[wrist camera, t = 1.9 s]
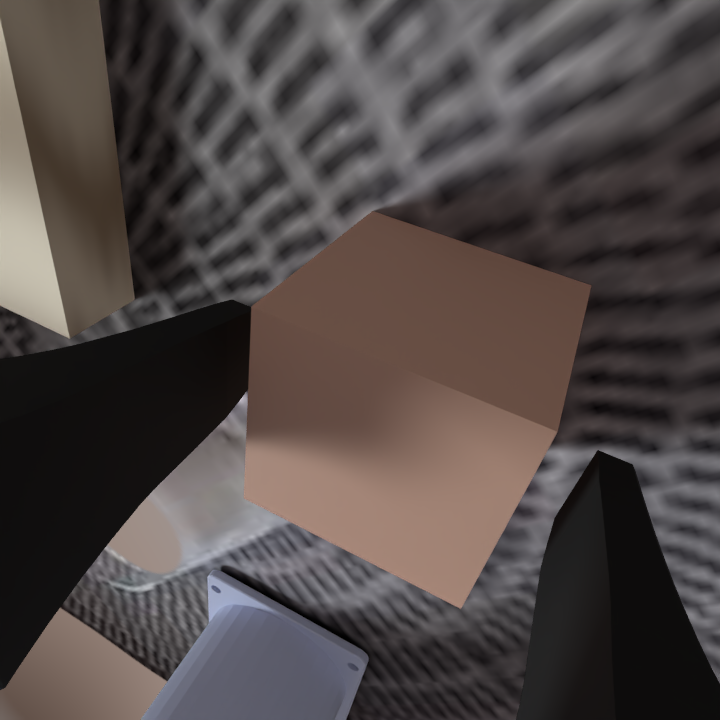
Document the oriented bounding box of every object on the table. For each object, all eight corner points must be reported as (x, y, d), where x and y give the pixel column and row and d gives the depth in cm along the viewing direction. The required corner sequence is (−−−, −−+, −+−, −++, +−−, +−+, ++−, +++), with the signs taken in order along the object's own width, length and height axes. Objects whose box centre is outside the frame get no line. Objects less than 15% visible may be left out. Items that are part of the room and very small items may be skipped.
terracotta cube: (512, 446, 14) (460, 609, 11) (344, 374, 16) (243, 498, 12) (592, 283, 11) (558, 431, 8) (374, 210, 13) (251, 306, 9)
